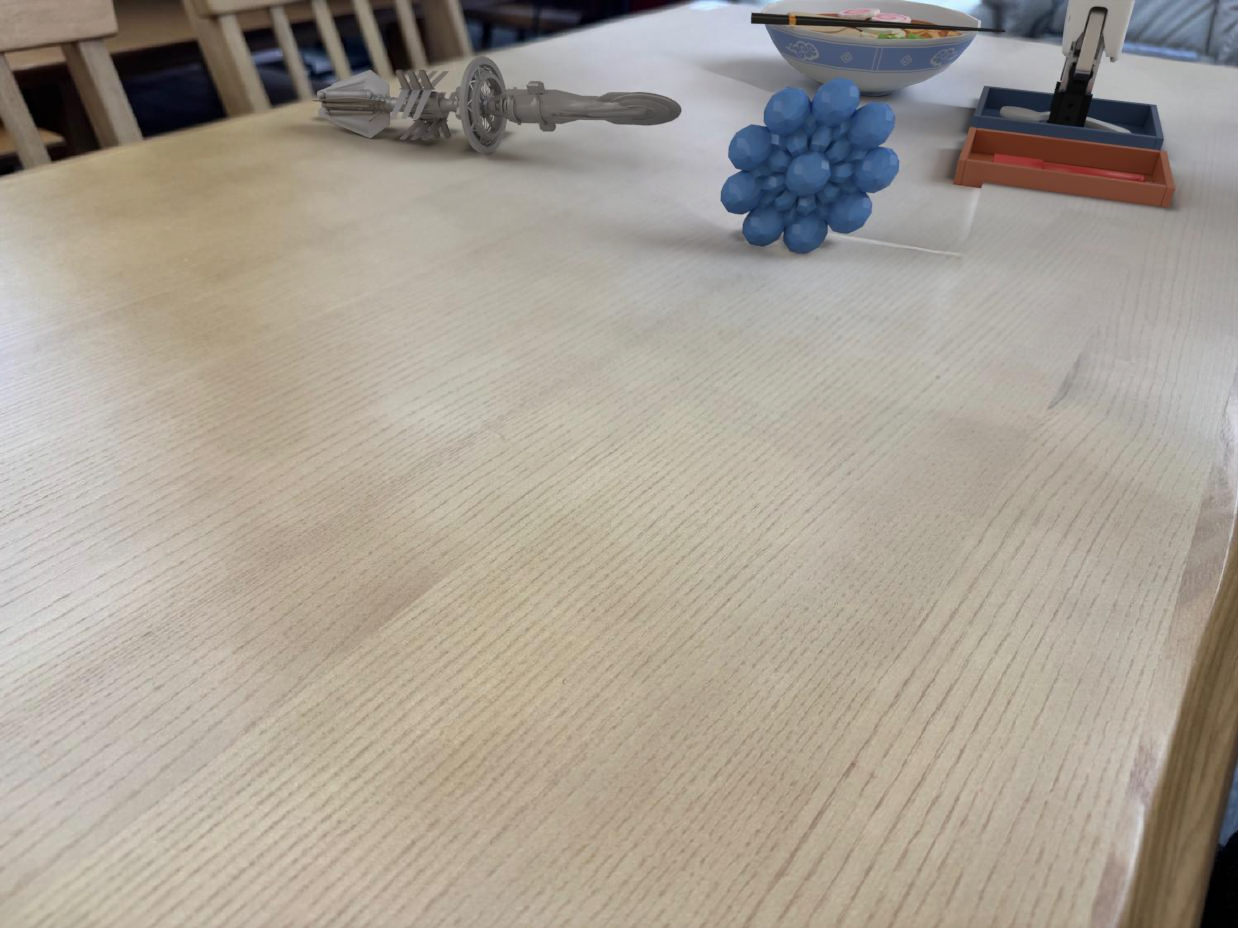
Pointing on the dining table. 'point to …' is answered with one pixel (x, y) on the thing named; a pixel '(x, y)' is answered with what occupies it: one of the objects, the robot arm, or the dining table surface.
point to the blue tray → (1119, 113)
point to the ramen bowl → (868, 40)
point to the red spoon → (1064, 167)
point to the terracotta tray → (1065, 152)
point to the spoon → (1044, 116)
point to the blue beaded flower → (810, 166)
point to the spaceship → (479, 105)
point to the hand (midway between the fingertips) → (1063, 129)
